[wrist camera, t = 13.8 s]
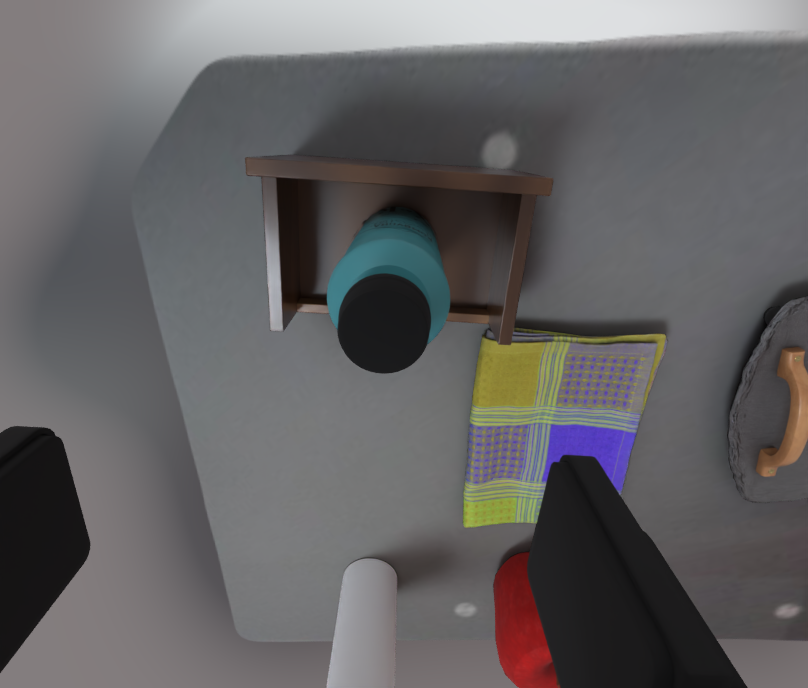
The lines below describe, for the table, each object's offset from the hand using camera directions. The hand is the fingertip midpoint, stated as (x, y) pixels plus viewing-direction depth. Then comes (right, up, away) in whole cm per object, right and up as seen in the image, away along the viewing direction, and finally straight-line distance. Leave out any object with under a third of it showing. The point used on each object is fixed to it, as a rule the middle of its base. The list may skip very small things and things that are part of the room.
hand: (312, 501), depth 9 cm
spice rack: (+1, +13, +31) cm, 33 cm away
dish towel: (+17, -6, +39) cm, 43 cm away
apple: (+17, -24, +47) cm, 55 cm away
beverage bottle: (+1, +11, +28) cm, 30 cm away
